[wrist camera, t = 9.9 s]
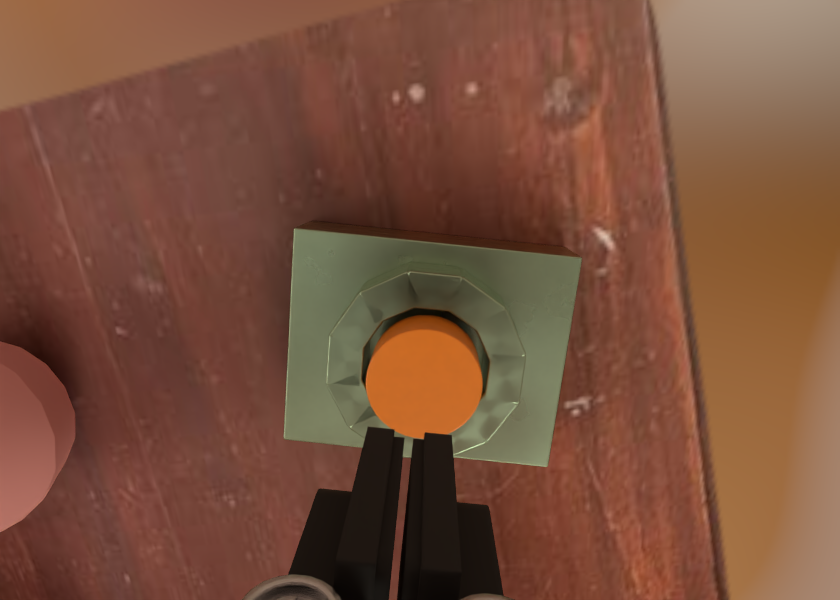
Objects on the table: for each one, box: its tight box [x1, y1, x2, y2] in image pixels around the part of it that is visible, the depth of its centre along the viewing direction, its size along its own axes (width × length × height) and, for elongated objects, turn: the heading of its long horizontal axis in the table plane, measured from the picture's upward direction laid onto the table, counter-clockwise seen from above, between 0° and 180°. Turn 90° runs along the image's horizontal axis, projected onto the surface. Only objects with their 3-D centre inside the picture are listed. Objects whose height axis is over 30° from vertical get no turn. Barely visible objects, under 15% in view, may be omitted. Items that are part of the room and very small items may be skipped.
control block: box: [284, 221, 582, 467], centre depth 21 cm, size 10×8×4 cm
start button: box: [366, 315, 483, 439], centre depth 19 cm, size 4×4×2 cm
